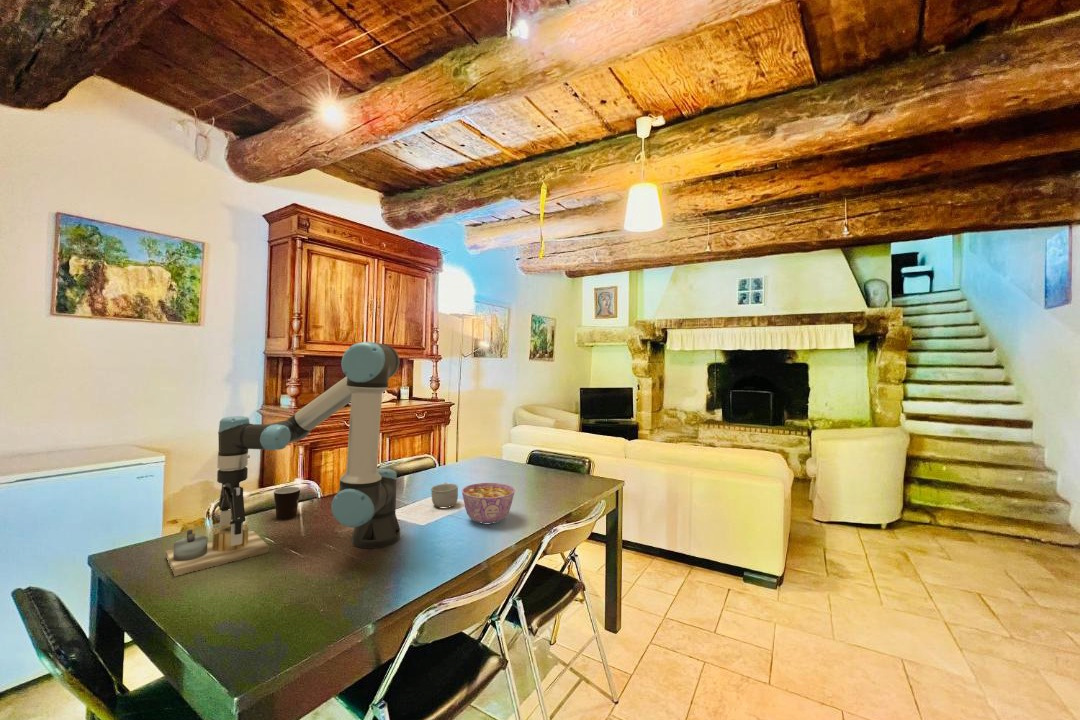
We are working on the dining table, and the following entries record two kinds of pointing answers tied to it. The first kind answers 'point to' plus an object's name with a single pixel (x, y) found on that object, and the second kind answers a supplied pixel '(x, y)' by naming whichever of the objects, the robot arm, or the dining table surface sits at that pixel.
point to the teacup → (444, 495)
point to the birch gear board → (209, 553)
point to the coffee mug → (286, 502)
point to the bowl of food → (488, 501)
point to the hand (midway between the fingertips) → (230, 538)
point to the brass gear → (227, 539)
